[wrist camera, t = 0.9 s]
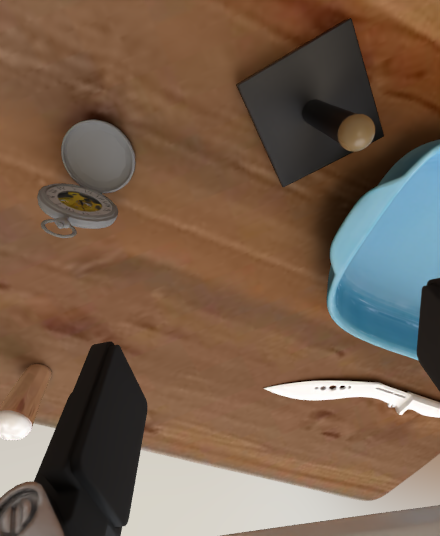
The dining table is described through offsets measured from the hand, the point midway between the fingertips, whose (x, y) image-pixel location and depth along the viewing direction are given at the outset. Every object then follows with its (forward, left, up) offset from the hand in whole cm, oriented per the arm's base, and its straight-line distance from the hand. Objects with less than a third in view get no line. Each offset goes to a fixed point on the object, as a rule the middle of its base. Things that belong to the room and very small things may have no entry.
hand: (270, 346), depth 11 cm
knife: (+41, +2, -27) cm, 48 cm away
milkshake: (+13, -36, -27) cm, 46 cm away
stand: (0, +8, -26) cm, 28 cm away
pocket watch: (-5, -12, -27) cm, 29 cm away
